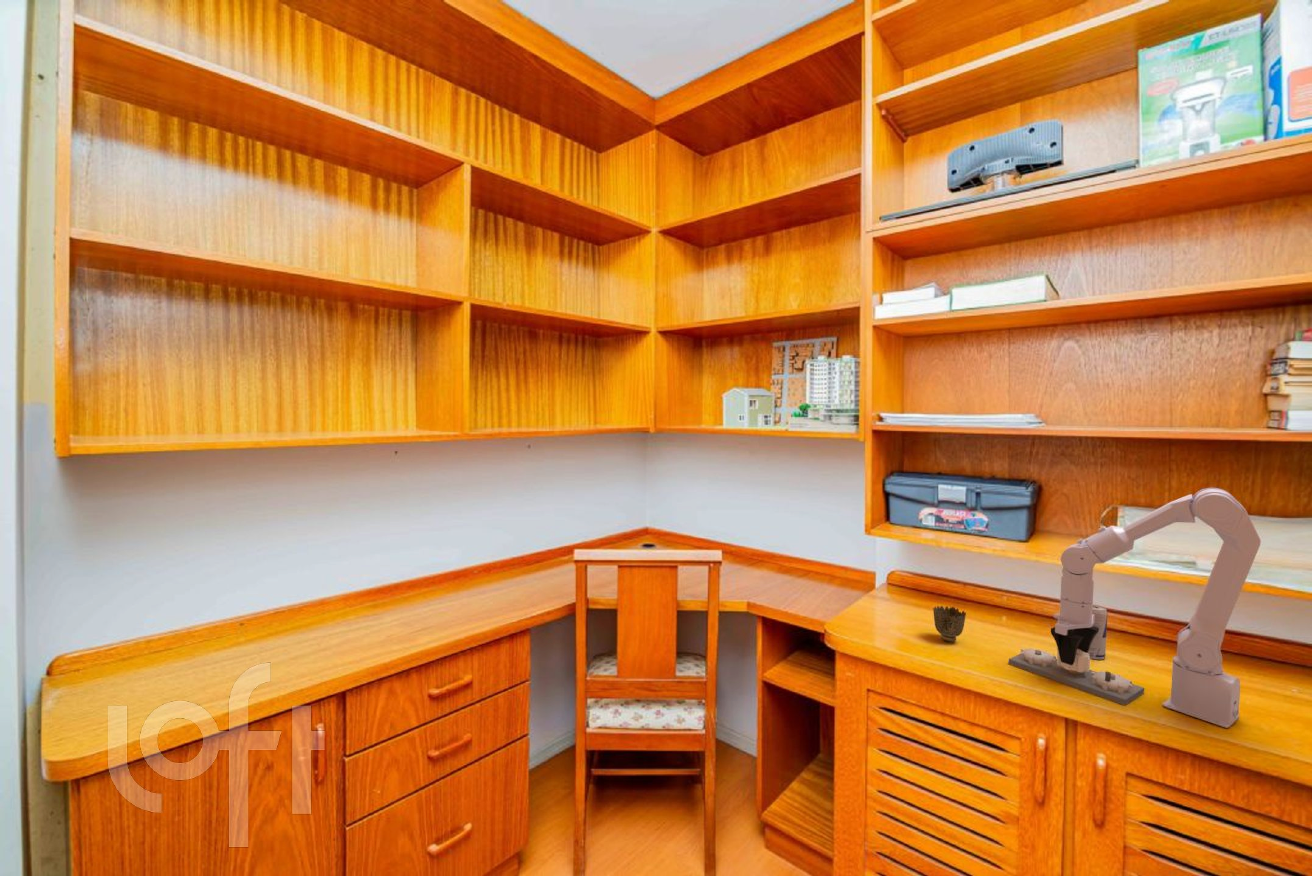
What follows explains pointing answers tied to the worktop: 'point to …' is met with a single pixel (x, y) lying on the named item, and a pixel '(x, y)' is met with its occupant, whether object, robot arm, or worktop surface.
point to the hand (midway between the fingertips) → (1073, 660)
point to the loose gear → (1077, 662)
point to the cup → (949, 622)
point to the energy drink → (1099, 633)
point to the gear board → (1078, 677)
